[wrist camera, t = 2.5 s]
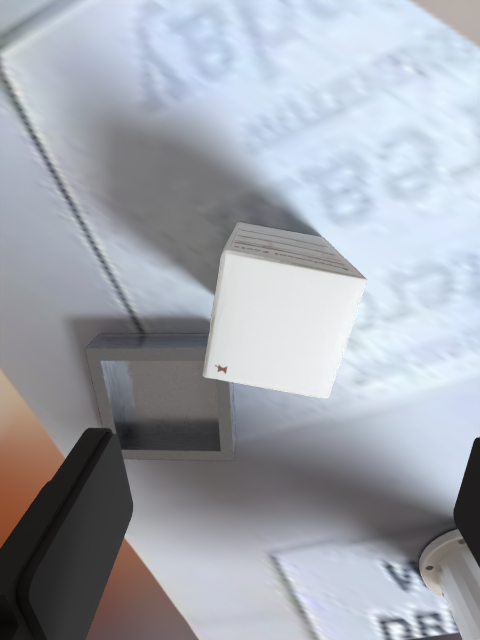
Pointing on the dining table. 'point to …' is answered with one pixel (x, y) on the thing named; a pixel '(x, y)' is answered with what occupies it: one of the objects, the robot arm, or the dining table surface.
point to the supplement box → (281, 311)
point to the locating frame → (162, 397)
